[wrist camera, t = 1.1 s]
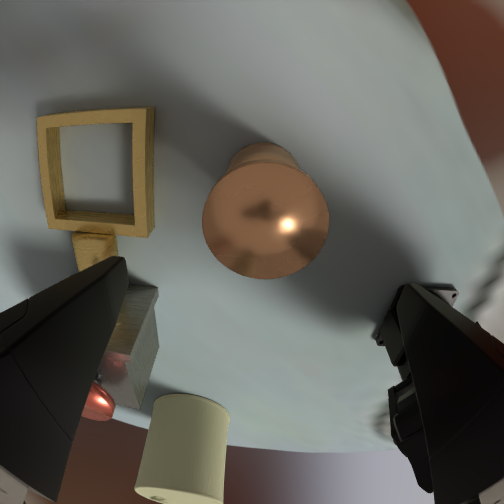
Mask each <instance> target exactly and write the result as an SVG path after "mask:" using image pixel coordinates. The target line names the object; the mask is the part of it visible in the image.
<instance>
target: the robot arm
mask: <svg viewBox="0 0 504 504" xmlns="http://www.w3.org/2000/svg"><path fill="white" fill-rule="evenodd" d="M127 287H128V273H127V266H126V260H125V258H124V257H120V256H111V257H109V258H107V259H104V260H102V261H100V262H98V263H96V264H94V265H92V266H90V267H88V268H86V269H84V270H82V271H80V272H78V273H76V274H74V275H72V276H70V277H68V278H66V279H64V280H62V281H60V282H58V283H56V284H54V285H53V286H51V287H49V288H47V289H45V290H43V291H41V292H39V293H37V294H35V295H34V296H32V297H30V298H29V299H26V300H24V301H22V302H21V303H19V304H17V305H15V306H13V307H11V308H9V309H7V310H5V311H3V312H1V313H0V504H26V503H25V501H24V499H25V496H26V493H27V490H28V489H29V490H31V491H33V492H35V493H36V494H38V495H40V496H43V497H44V498H47V499H49V500H51V501H53V502H57V499H58V495H59V491H60V487H61V483H62V479H63V475H64V472H65V468H66V464H67V461H68V457H69V453H70V450H71V447H72V442H73V440H74V436H75V433H76V430H77V427H78V424H79V421H80V418H81V415H82V412H83V409H84V406H85V403H86V400H87V398H88V395H89V392H90V389H91V386H92V384H93V381H94V378H95V376H96V373H97V370H98V368H99V365H100V363H101V360H102V358H103V355H104V353H105V350H106V348H107V345H108V343H109V340H110V338H111V335H112V333H113V331H114V328H115V326H116V323H117V320H118V316H119V313H120V310H121V306H122V303H123V300H124V297H125V293H126V290H127ZM458 294H459V293H458V291H457V290H456V289H455V288H441V287H425V286H420V285H418V284H406V285H403V286H401V287H400V288H399V290H398V292H397V294H396V297H395V299H394V301H393V303H392V306H391V308H390V310H389V311H388V313H387V316H386V318H385V320H384V322H383V324H382V326H381V329H380V332H379V334H378V336H377V338H376V343H377V345H378V346H385V347H386V349H387V352H388V354H389V357H390V360H391V362H392V364H393V366H397V367H398V370H399V373H400V375H401V378H402V382H401V383H399V384H398V385H396V386H393V387H391V388H390V389H388V397H389V399H388V400H389V412H390V425H391V436H392V438H393V441H394V444H395V445H397V447H398V448H399V450H400V451H401V452H402V453H403V454H404V455H405V456H406V457H408V459H409V461H410V463H411V465H412V468H413V471H414V474H415V477H416V480H417V483H418V485H419V486H420V487H421V488H422V489H423V490H425V491H426V492H427V493H432V492H434V500H435V504H504V344H503V343H502V342H501V341H499V340H498V339H497V338H495V337H494V336H492V335H491V334H490V333H488V332H487V331H485V330H484V329H483V328H481V326H480V325H479V323H478V322H476V323H474V322H473V321H471V320H470V319H469V318H467V317H466V316H464V315H463V314H461V313H460V312H458V311H457V310H456V309H454V308H453V307H452V306H453V305H454V303H455V301H456V299H457V297H458ZM381 340H382V341H381Z"/></svg>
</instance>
